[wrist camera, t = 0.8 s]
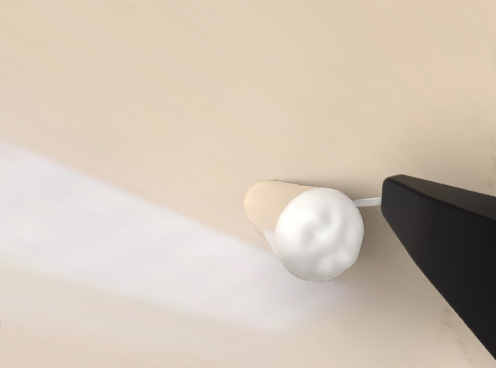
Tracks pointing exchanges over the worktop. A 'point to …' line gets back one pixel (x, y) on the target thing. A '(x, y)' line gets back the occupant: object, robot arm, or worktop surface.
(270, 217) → the milkshake
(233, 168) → the worktop surface
